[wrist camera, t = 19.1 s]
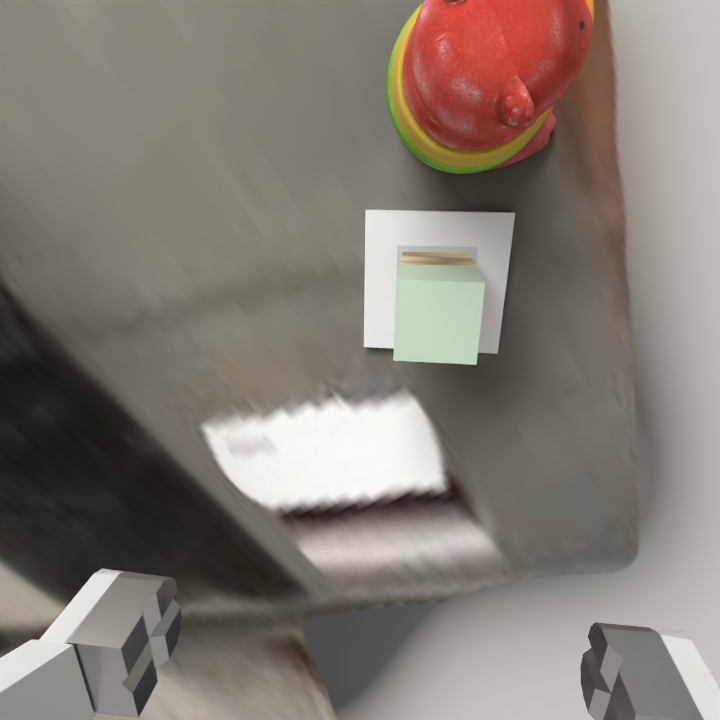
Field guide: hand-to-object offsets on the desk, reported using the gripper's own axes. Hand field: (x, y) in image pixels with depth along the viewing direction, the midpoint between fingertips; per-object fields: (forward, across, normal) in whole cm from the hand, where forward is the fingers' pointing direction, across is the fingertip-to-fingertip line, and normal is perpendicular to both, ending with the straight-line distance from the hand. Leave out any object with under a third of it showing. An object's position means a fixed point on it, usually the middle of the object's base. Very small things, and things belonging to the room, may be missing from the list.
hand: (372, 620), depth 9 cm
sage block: (+25, -2, 0) cm, 25 cm away
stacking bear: (+31, -3, -13) cm, 34 cm away
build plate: (+31, -2, 0) cm, 31 cm away
